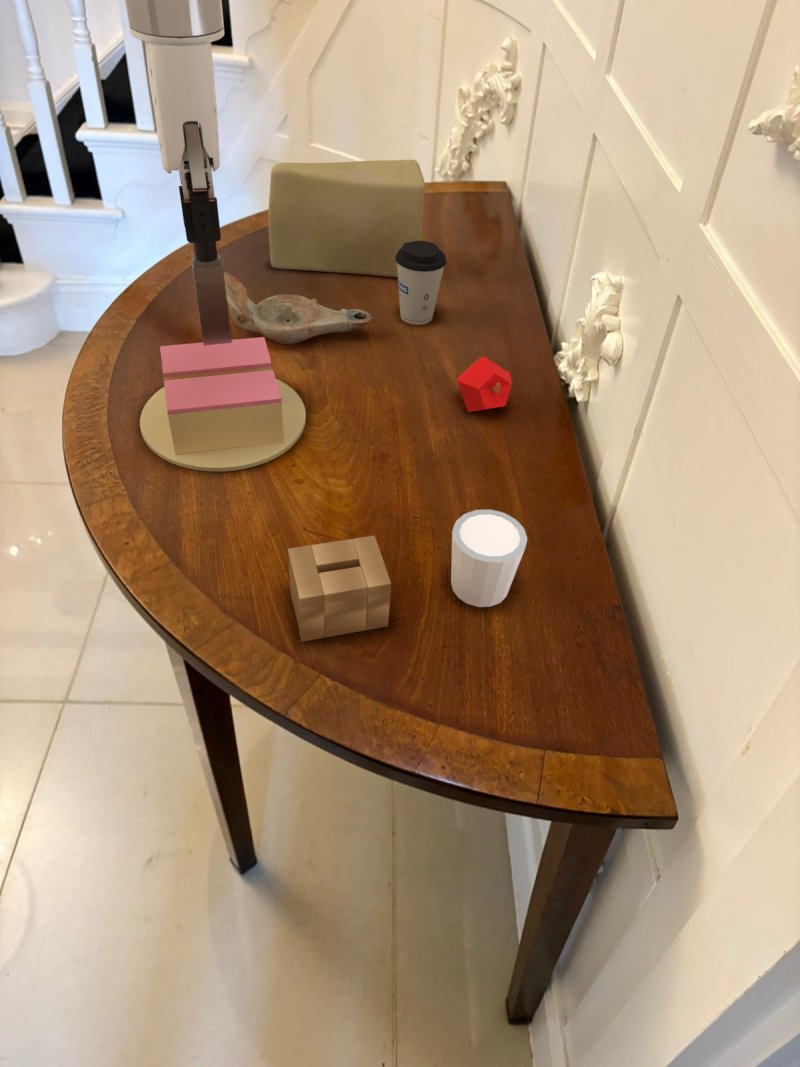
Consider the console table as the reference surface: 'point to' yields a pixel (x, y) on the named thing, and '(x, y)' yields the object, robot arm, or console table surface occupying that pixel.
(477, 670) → the console table surface
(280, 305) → the oil lamp
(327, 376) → the console table surface
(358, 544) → the knife block
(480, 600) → the white cylinder
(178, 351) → the cake
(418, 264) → the coffee cup
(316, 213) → the cheese
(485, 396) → the apple
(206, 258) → the knife
